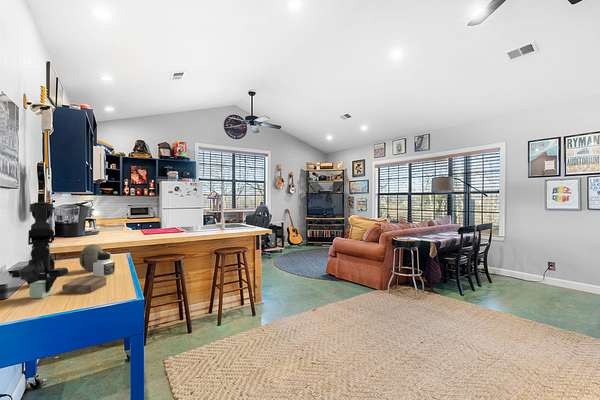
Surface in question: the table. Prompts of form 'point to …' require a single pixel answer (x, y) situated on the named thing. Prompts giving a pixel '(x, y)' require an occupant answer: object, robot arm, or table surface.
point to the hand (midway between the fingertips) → (40, 292)
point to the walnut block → (84, 285)
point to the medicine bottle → (103, 265)
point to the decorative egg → (89, 256)
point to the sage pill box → (38, 290)
